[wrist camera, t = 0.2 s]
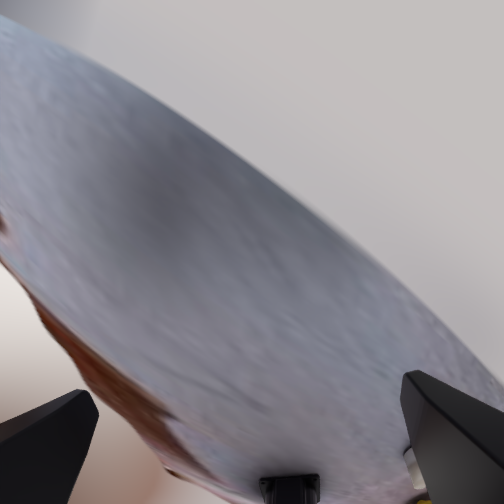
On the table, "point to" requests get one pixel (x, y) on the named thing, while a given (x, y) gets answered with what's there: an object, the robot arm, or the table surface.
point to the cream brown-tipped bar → (414, 470)
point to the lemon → (424, 502)
